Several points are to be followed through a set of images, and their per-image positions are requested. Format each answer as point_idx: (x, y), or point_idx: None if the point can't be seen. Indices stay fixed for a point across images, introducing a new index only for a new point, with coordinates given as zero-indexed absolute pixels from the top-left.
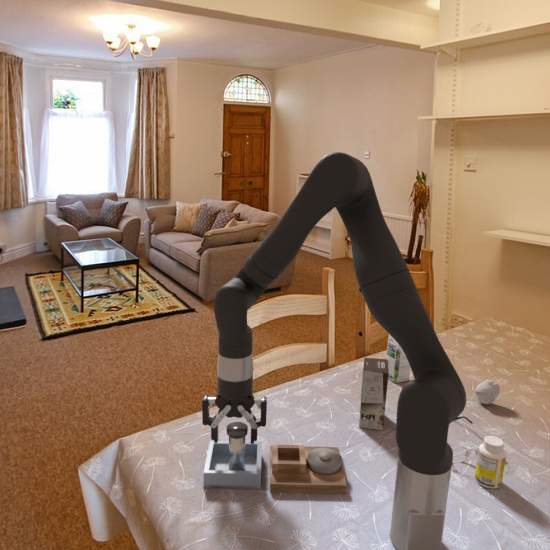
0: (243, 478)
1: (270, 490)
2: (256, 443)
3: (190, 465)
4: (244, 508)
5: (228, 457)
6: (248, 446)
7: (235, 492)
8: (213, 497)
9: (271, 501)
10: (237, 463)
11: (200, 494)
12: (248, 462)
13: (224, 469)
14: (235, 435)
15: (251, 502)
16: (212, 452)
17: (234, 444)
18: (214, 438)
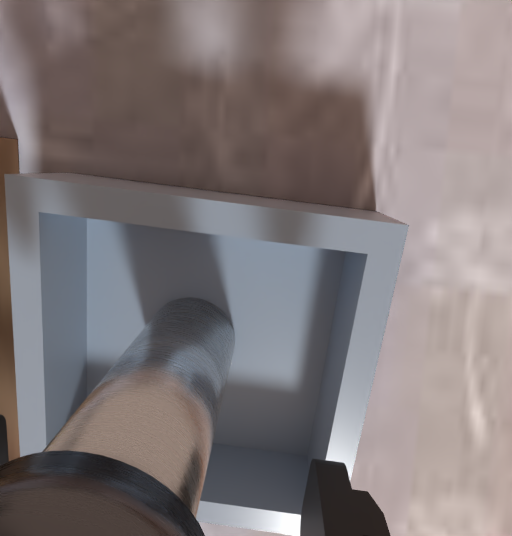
0: (138, 186)
1: (8, 139)
2: None
3: (429, 397)
4: (155, 4)
5: (232, 428)
6: None
7: (204, 156)
8: (327, 122)
9: (6, 57)
10: (172, 322)
11: (398, 156)
12: None
13: (257, 336)
14: (79, 485)
15: (116, 58)
16: (325, 441)
17: (147, 411)
18: (350, 500)
